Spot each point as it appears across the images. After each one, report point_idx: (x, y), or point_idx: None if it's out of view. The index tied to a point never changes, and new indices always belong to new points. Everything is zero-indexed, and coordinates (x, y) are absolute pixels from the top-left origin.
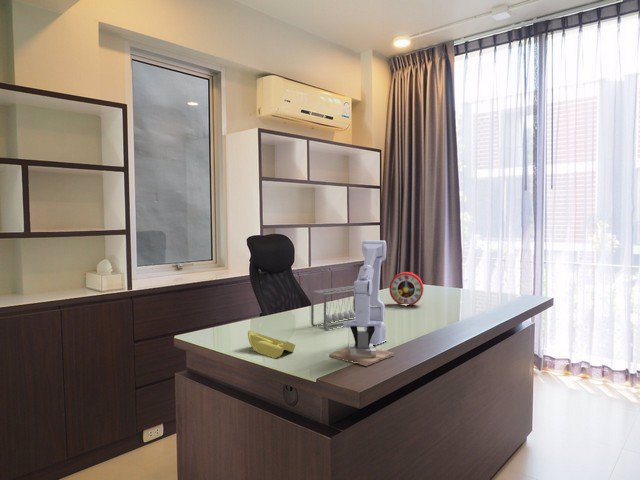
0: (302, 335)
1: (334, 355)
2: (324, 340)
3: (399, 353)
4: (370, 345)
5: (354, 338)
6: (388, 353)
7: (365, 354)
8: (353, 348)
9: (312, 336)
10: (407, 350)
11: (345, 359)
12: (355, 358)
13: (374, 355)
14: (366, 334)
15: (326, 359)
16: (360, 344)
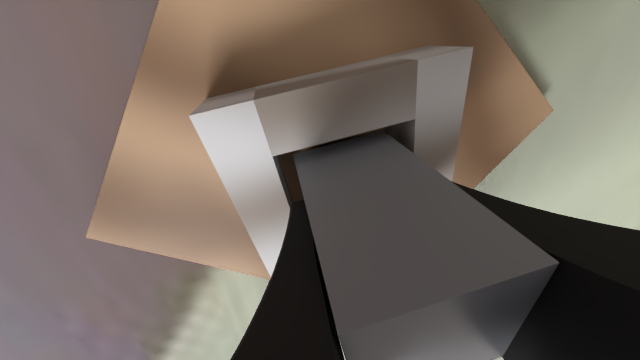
0: None
1: (532, 82)
2: None
3: (88, 272)
4: None
5: None
6: (132, 219)
7: (310, 78)
8: (433, 138)
9: None
10: (67, 326)
11: (471, 9)
12: (397, 10)
13: (220, 99)
14: (369, 300)
15: (581, 26)
16: (389, 166)
